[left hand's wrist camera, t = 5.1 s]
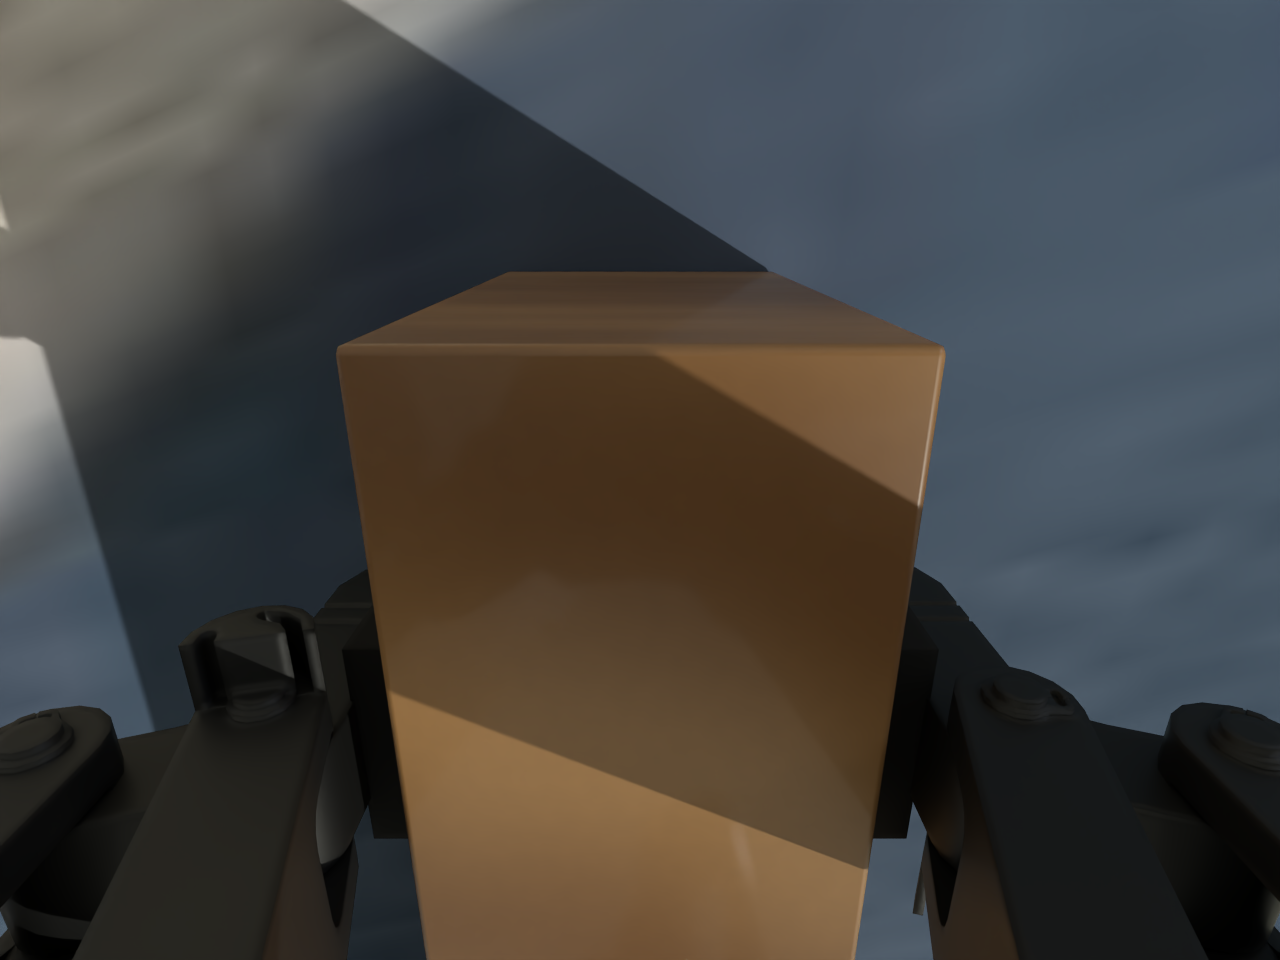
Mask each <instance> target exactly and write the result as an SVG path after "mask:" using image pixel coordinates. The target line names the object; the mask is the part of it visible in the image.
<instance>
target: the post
mask: <svg viewBox="0 0 1280 960" xmlns="http://www.w3.org/2000/svg"><path fill="white" fill-rule="evenodd" d="M945 356H946V355H945V350H944V347H943V346H941V345H939V344H937V343H934V342H932V341H930V340H928V339H925V338H923V337H921V336H918V335H916V334H914V333H911V332H909V331H907V330H905V329H902V328H900V327H898V326H895V325H893V324H891V323H888V322H886V321H884V320H882V319H879V318H877V317H875V316H872V315H870V314H868V313H865V312H863V311H861V310H859V309H856V308H854V307H852V306H849V305H847V304H845V303H842V302H840V301H838V300H836V299H833V298H831V297H829V296H826V295H824V294H822V293H819V292H817V291H815V290H813V289H810V288H808V287H806V286H803V285H801V284H799V283H796V282H794V281H792V280H790V279H787V278H785V277H783V276H780V275H778V274H776V273H773V272H507V273H505V274H502V275H500V276H498V277H496V278H493V279H491V280H489V281H486V282H484V283H482V284H480V285H477V286H475V287H473V288H470V289H468V290H466V291H464V292H461V293H459V294H457V295H454V296H452V297H450V298H448V299H445V300H443V301H441V302H438V303H436V304H434V305H432V306H429V307H427V308H425V309H422V310H420V311H418V312H416V313H413V314H411V315H409V316H406V317H404V318H402V319H399V320H397V321H395V322H393V323H390V324H388V325H386V326H383V327H381V328H379V329H377V330H374V331H372V332H370V333H367V334H365V335H363V336H361V337H358V338H356V339H354V340H351V341H349V342H347V343H345V344H342V345H340V346H338V348H337V352H336V359H337V366H338V373H339V379H340V386H341V393H342V399H343V406H344V413H345V419H346V426H347V433H348V440H349V446H350V453H351V460H352V466H353V473H354V480H355V486H356V493H357V500H358V506H359V513H360V520H361V526H362V533H363V540H364V546H365V553H366V560H367V566H368V573H369V580H370V587H371V593H372V600H373V607H374V613H375V620H376V627H377V633H378V640H379V647H380V653H381V660H382V667H383V673H384V680H385V687H386V693H387V700H388V707H389V713H390V720H391V727H392V733H393V740H394V747H395V754H396V760H397V767H398V774H399V780H400V787H401V794H402V800H403V807H404V814H405V820H406V827H407V834H408V840H409V847H410V854H411V860H412V867H413V874H414V880H415V887H416V894H417V901H418V907H419V914H420V921H421V927H422V934H423V941H424V947H425V954H426V960H855V953H856V946H857V940H858V933H859V927H860V920H861V913H862V907H863V900H864V893H865V887H866V880H867V873H868V867H869V860H870V854H871V847H872V840H873V834H874V827H875V820H876V814H877V807H878V801H879V794H880V787H881V781H882V774H883V767H884V761H885V754H886V747H887V741H888V734H889V728H890V721H891V714H892V708H893V701H894V694H895V688H896V681H897V674H898V668H899V661H900V655H901V648H902V641H903V635H904V628H905V621H906V615H907V608H908V602H909V595H910V588H911V582H912V575H913V568H914V562H915V555H916V548H917V542H918V535H919V529H920V522H921V515H922V509H923V502H924V495H925V489H926V482H927V475H928V469H929V462H930V456H931V449H932V442H933V436H934V429H935V422H936V416H937V409H938V402H939V396H940V389H941V383H942V376H943V369H944V363H945Z"/></svg>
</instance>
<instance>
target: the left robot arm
mask: <svg viewBox="0 0 1280 960" xmlns="http://www.w3.org/2000/svg"><path fill="white" fill-rule="evenodd" d="M178 647H179V651H180V655H181V658H182V662H183V666H184V670H185V673H186V677H187V681H188V685H189V688H190V692H191V696H192V700H193V703H194V707H195V713H194V715H193V717H192V719H191V721H190V723H189V724H187V725H183V726H180V727H176V728H171V729H166V730H161V731H156V732H151V733H146V734H141V735H136V736H131V737H126V738H121V739H117V735H116V732H115V729H114V726H113V723H112V720H111V717H110V716H109V715H108V714H106V713H105V712H104V711H102V710H101V709H100V708H93V707H86V706H73V707H65V708H56V709H49V710H45V711H40V712H39V713H37V714H35V713H33V714H30V715H27V716H24V717H21V718H19V719H17V720H16V721H14V722H12V723H10V724H8V725H6V726H4V727H1V728H0V912H1V914H2V916H3V919H4V921H5V923H6V926H7V928H8V929H7V931H6V932H5V933H4V934H3V935H2V936H1V937H0V960H347V953H348V945H349V938H350V930H351V922H352V914H353V906H354V898H355V891H356V883H357V875H358V867H359V866H358V858H357V851H356V846H355V840H354V834H355V831H356V829H357V827H358V825H359V823H360V821H361V818H362V816H363V814H364V812H365V810H366V808H367V805H368V806H369V811H370V817H371V823H372V829H373V835H374V838H408V834H407V827H406V820H405V814H404V807H403V800H402V794H401V787H400V780H399V774H398V767H397V760H396V754H395V747H394V740H393V733H392V727H391V720H390V713H389V707H388V700H387V693H386V687H385V680H384V673H383V667H382V660H381V653H380V647H379V640H378V633H377V627H376V620H375V613H374V607H373V600H372V593H371V587H370V580H369V573H368V570H365V571H363V572H361V573H360V574H358V575H356V576H355V577H353V578H352V579H350V580H348V581H347V582H345V583H343V584H342V585H340V586H339V587H338V589H337V590H336V591H335V592H334V594H333V595H332V596H331V597H330V598H329V600H328V601H327V602H326V603H325V608H321V610H320V611H319V612H318V613H317V615H316V616H315V617H314V618H313V617H312V616H311V615H310V614H308V613H307V612H306V611H304V610H303V609H300V608H295V607H290V606H285V605H281V606H260V607H255V608H250V609H245V610H240V611H236V612H233V613H230V614H228V615H225V616H222V617H219V618H217V619H214V620H211V621H210V622H208V623H206V624H205V625H203V626H201V627H200V628H198V629H196V630H194V631H193V632H191V633H190V634H189V635H188V636H187V637H186V638H185V639H184V640H183V641H182V643H181V644H180V645H179V646H178ZM912 803H914V805H915V807H916V809H917V811H918V814H919V816H920V818H921V820H922V822H923V824H924V827H925V829H926V831H927V835H926V840H925V846H924V851H923V856H922V862H921V867H920V873H919V878H918V883H917V889H916V894H915V900H914V908H913V913H914V914H918V915H923V911H924V906H925V901H926V905H927V912H928V920H929V928H930V936H931V944H932V952H933V959H934V960H1280V932H1279V931H1278V930H1277V929H1276V928H1275V927H1274V925H1275V923H1276V920H1277V918H1278V916H1279V913H1280V724H1279V723H1277V722H1275V721H1272V720H1270V719H1268V718H1267V717H1265V716H1264V715H1261V714H1259V713H1256V712H1253V711H1250V710H1247V711H1245V710H1243V708H1239V707H1234V706H1229V705H1219V704H1211V703H1195V704H1187V705H1182V706H1180V707H1179V708H1178V709H1176V710H1175V711H1174V712H1173V713H1171V716H1170V719H1169V722H1168V725H1167V728H1166V731H1165V734H1164V736H1161V735H1156V734H1151V733H1146V732H1141V731H1136V730H1131V729H1126V728H1121V727H1116V726H1111V725H1106V724H1102V723H1098V722H1094V721H1091V720H1089V718H1088V716H1087V714H1086V712H1085V710H1084V709H1083V707H1082V706H1081V705H1080V704H1079V702H1078V701H1077V700H1076V699H1075V698H1074V696H1073V695H1072V694H1070V693H1069V692H1067V691H1066V690H1064V689H1063V688H1062V687H1060V686H1059V685H1057V684H1056V683H1054V682H1053V681H1050V680H1048V679H1046V678H1043V677H1041V676H1039V675H1036V674H1034V673H1032V672H1029V671H1025V670H1021V669H1016V668H1012V667H1009V666H1008V665H1007V664H1006V662H1005V661H1004V660H1003V659H1002V657H1001V656H1000V655H999V654H998V653H997V651H996V650H995V649H994V648H993V646H992V645H991V644H990V643H989V641H988V640H987V639H986V638H985V637H984V635H983V634H982V633H981V632H980V630H979V629H978V628H977V627H976V626H975V624H974V623H973V622H972V621H969V617H968V616H967V614H966V613H965V612H964V611H963V610H962V608H961V607H960V606H957V605H956V601H955V600H954V598H953V597H952V596H951V595H950V594H949V592H948V591H947V590H946V589H945V587H944V586H943V585H942V584H941V583H940V582H938V581H937V580H935V579H933V578H932V577H930V576H928V575H927V574H925V573H923V572H922V571H920V570H919V569H917V568H915V567H914V568H913V575H912V582H911V588H910V595H909V602H908V608H907V615H906V621H905V628H904V635H903V641H902V648H901V655H900V661H899V668H898V674H897V681H896V688H895V694H894V701H893V708H892V714H891V721H890V728H889V734H888V741H887V747H886V754H885V761H884V767H883V774H882V781H881V787H880V794H879V801H878V807H877V814H876V820H875V827H874V834H873V838H907V832H908V826H909V820H910V814H911V809H912Z"/></svg>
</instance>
